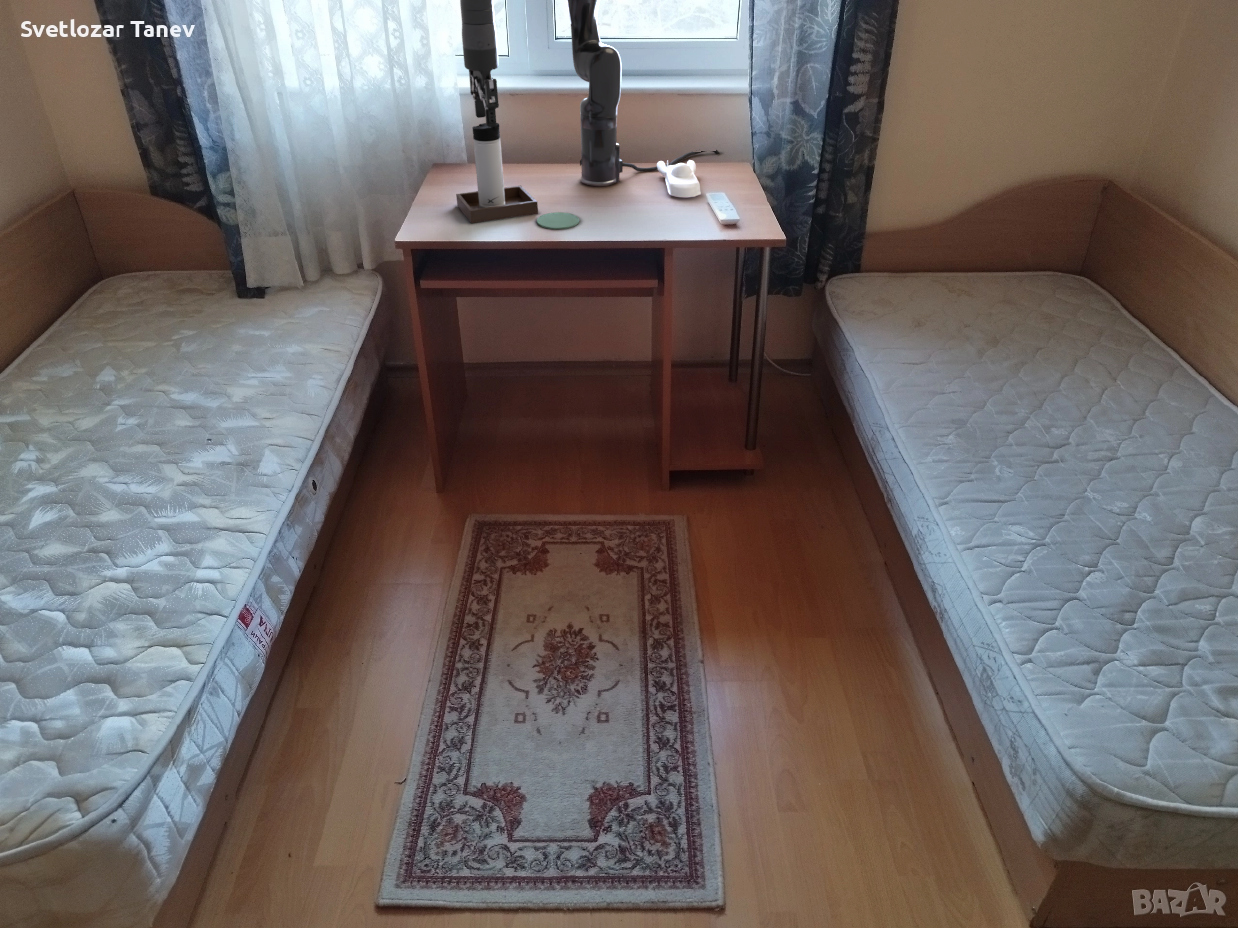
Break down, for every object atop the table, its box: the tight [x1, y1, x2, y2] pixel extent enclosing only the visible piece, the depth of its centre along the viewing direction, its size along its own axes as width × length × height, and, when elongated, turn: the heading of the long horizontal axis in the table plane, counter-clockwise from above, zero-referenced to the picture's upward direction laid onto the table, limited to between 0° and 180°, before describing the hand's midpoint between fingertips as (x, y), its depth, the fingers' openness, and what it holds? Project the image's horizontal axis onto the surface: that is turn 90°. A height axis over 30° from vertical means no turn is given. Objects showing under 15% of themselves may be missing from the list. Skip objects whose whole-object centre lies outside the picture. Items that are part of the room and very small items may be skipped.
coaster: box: [536, 211, 580, 230], centre depth 206 cm, size 10×10×1 cm
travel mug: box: [472, 122, 505, 208], centre depth 206 cm, size 6×7×20 cm
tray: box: [455, 185, 539, 224], centre depth 211 cm, size 17×13×3 cm
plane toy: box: [656, 159, 702, 198], centre depth 225 cm, size 10×20×6 cm, turn 4°
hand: (486, 121), depth 200 cm, fingers open, 8 cm apart
